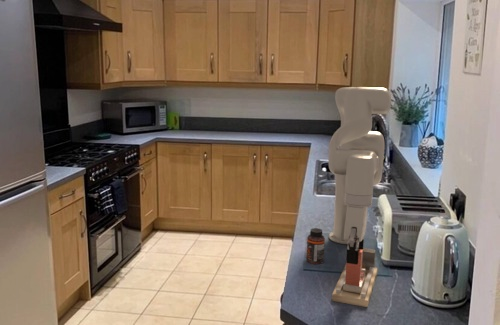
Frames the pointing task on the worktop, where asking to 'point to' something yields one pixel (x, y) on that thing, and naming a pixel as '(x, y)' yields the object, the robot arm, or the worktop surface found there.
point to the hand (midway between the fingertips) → (354, 257)
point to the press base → (369, 281)
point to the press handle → (354, 276)
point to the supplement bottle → (315, 246)
